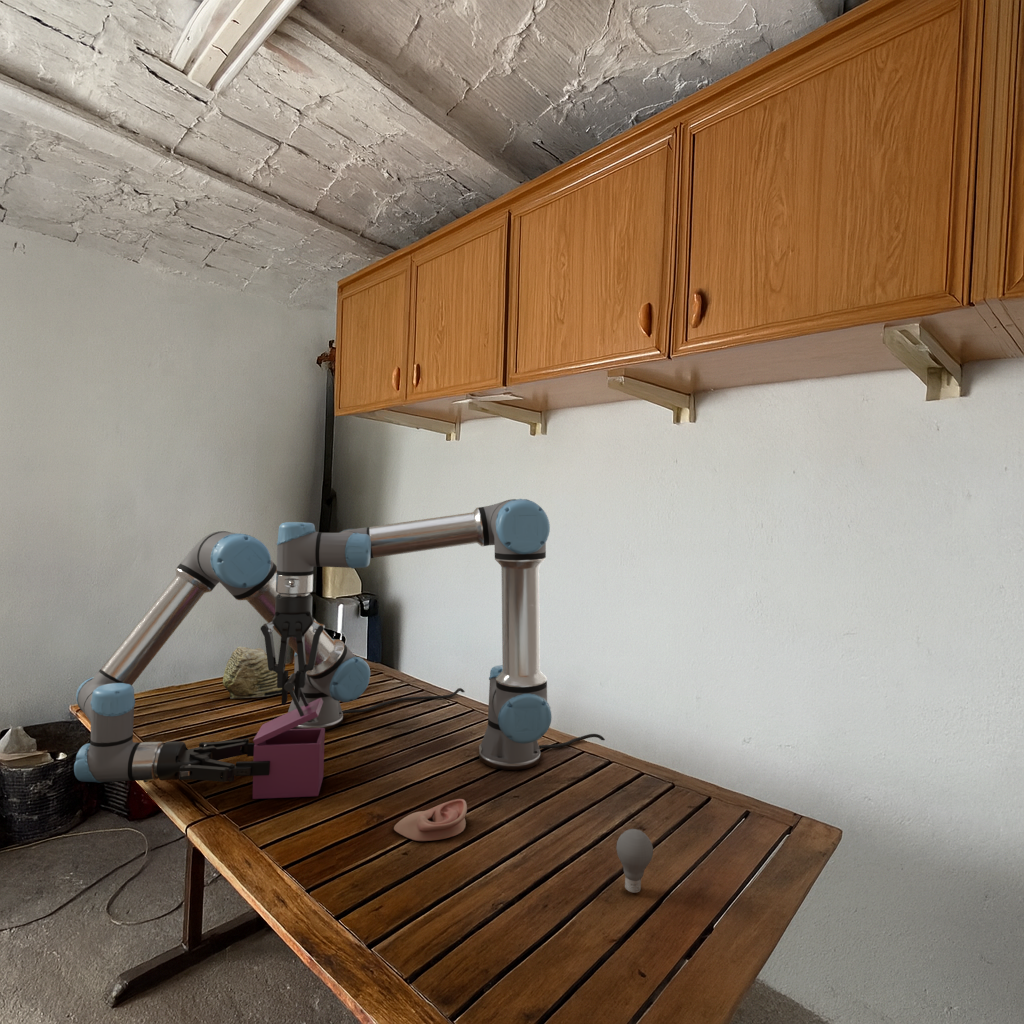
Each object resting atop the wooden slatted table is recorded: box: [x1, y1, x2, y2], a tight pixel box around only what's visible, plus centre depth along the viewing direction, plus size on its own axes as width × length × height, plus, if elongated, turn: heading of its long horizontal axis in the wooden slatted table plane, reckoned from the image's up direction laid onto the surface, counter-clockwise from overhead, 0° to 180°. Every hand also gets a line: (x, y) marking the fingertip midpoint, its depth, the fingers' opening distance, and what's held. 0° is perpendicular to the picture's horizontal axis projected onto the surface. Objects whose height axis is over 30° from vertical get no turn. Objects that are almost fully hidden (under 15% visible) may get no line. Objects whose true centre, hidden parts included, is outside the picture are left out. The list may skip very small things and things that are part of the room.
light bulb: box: [615, 828, 654, 894], centre depth 106 cm, size 6×6×10 cm
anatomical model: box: [393, 798, 468, 842], centre depth 123 cm, size 13×4×12 cm
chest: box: [252, 728, 326, 800], centre depth 137 cm, size 13×9×11 cm
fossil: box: [222, 646, 282, 699], centre depth 198 cm, size 9×18×15 cm, turn 132°
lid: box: [252, 672, 323, 745], centre depth 136 cm, size 14×9×9 cm
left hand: (274, 758), depth 137 cm, fingers closed on chest, 9 cm apart
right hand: (290, 702), depth 137 cm, fingers closed on lid, 2 cm apart
